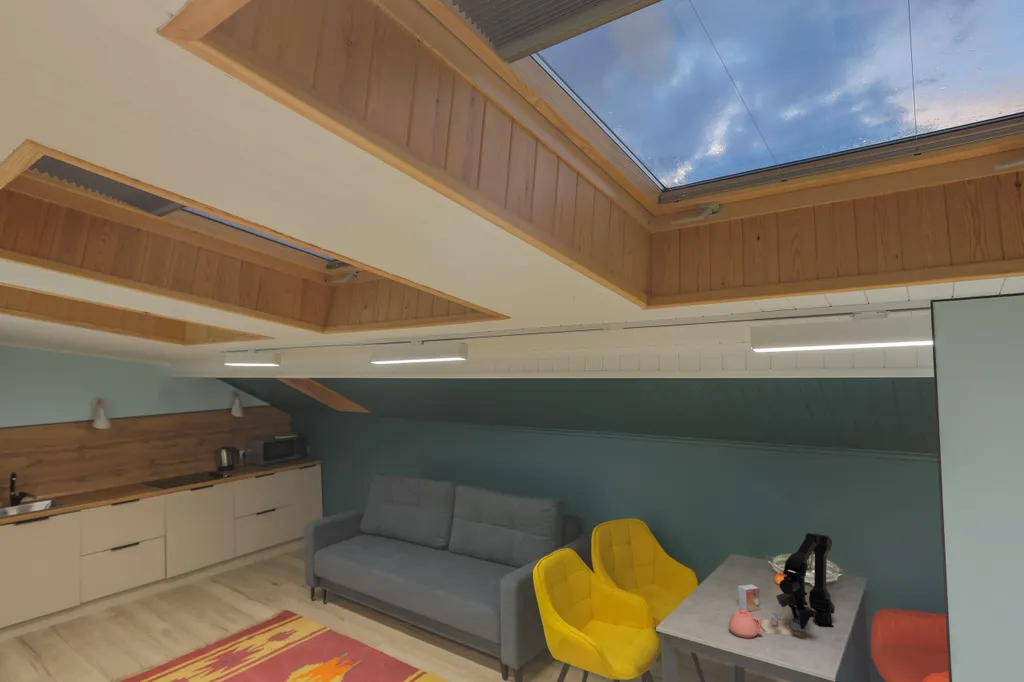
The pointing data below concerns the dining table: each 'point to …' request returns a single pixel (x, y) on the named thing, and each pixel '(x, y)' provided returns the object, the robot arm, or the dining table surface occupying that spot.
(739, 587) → the small box
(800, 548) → the robot arm
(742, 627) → the sugar bowl
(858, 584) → the dining table surface
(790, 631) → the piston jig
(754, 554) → the dining table surface
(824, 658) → the dining table surface
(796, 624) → the ring
